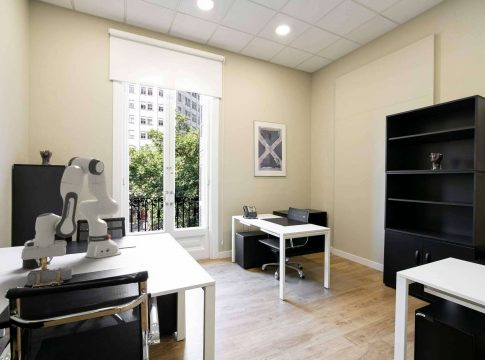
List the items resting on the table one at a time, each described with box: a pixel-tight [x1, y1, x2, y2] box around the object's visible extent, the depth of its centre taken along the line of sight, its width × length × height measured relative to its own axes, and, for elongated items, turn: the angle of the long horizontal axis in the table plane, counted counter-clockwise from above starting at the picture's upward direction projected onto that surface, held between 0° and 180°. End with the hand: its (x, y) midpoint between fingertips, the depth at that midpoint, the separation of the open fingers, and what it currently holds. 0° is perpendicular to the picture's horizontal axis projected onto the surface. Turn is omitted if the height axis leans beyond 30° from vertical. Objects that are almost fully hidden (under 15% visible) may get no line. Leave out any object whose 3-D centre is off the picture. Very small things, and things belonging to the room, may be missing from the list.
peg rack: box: [32, 267, 64, 287], centre depth 128 cm, size 12×8×6 cm, turn 121°
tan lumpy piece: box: [29, 268, 50, 272], centre depth 132 cm, size 8×7×4 cm
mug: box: [22, 258, 42, 270], centre depth 151 cm, size 9×12×9 cm
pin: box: [40, 257, 48, 270], centre depth 145 cm, size 3×3×8 cm
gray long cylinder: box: [26, 267, 73, 286], centre depth 128 cm, size 18×5×5 cm, turn 121°
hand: (44, 265), depth 145 cm, fingers closed on pin, 3 cm apart
